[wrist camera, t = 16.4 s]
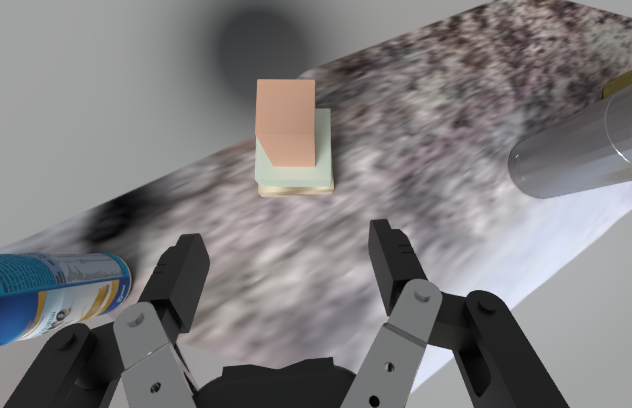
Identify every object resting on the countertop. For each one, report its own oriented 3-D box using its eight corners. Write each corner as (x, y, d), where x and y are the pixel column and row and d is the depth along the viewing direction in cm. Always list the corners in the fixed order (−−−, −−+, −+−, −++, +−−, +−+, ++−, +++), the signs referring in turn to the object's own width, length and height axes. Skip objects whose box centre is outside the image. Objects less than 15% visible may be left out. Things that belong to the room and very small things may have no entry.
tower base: (327, 129, 43) (328, 117, 39) (332, 194, 42) (333, 188, 38) (261, 133, 43) (256, 121, 39) (263, 198, 42) (258, 193, 38)
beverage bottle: (132, 246, 40) (-48, 243, 20) (137, 308, 39) (-49, 370, 19) (71, 257, 40) (-172, 266, 20) (74, 320, 38) (-182, 396, 19)
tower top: (328, 122, 39) (330, 108, 35) (329, 186, 38) (331, 179, 34) (263, 122, 39) (257, 108, 35) (261, 186, 38) (254, 179, 34)
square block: (315, 127, 35) (314, 79, 25) (315, 166, 34) (314, 134, 24) (274, 126, 35) (257, 79, 25) (273, 166, 34) (255, 134, 24)
